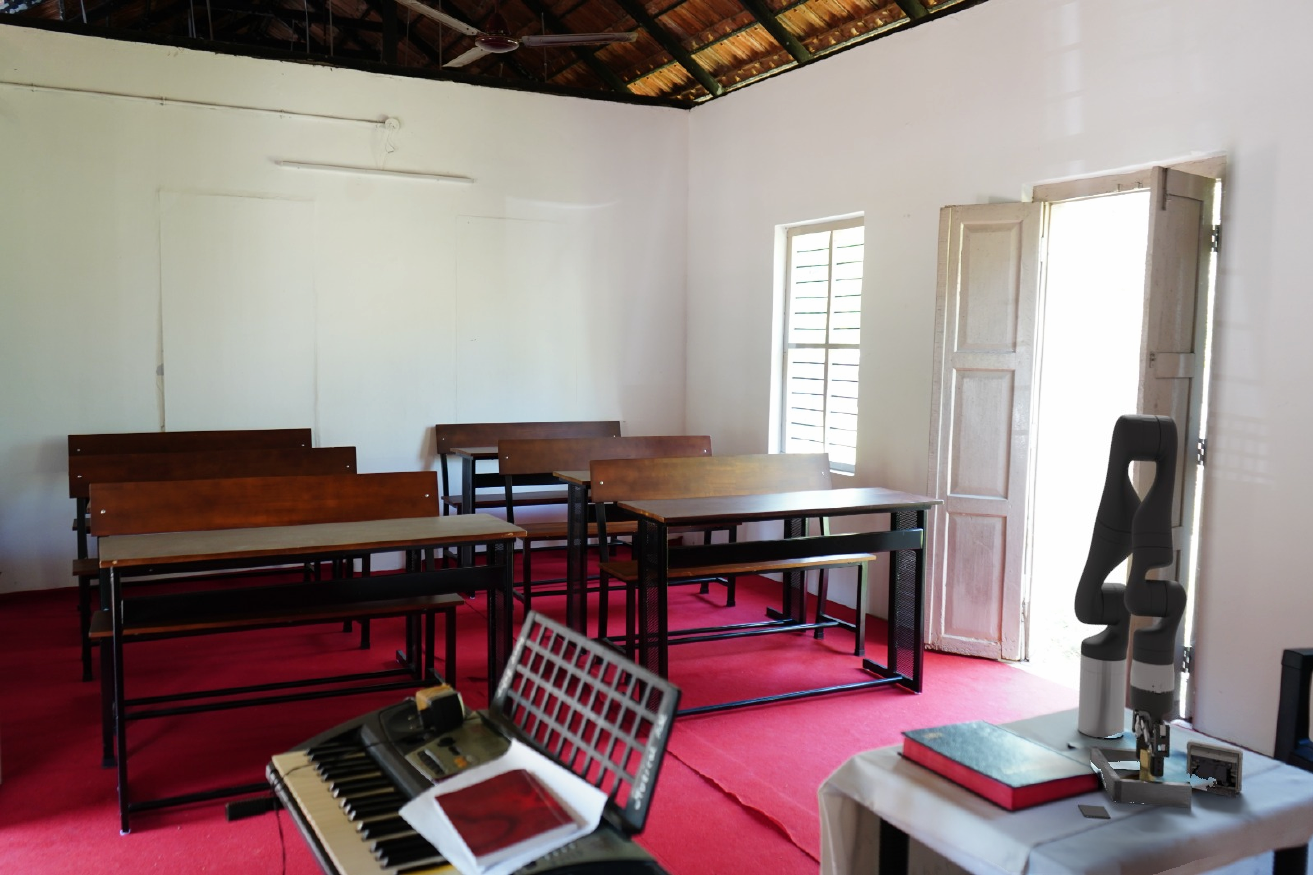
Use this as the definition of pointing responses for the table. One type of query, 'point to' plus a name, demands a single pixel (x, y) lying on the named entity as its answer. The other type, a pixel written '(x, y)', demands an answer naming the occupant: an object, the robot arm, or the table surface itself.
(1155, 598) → the robot arm
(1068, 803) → the table surface
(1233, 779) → the electrical switch
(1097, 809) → the pad
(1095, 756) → the bracket
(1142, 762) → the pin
